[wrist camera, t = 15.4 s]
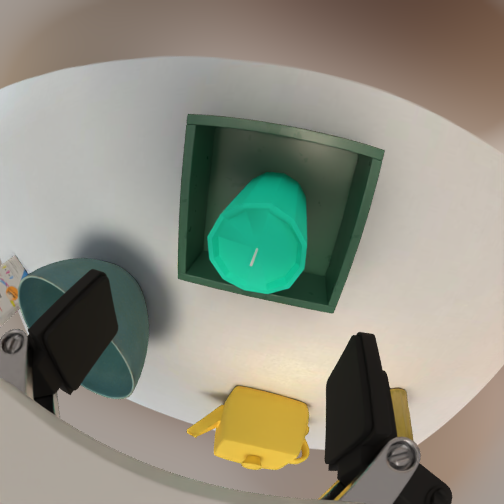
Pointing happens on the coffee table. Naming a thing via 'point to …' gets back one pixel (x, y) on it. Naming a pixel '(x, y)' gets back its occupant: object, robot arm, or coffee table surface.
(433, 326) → the coffee table surface
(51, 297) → the plant pot
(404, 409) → the vase
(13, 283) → the ink box
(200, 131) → the green open box
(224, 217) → the candle
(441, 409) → the coffee table surface
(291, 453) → the teapot
